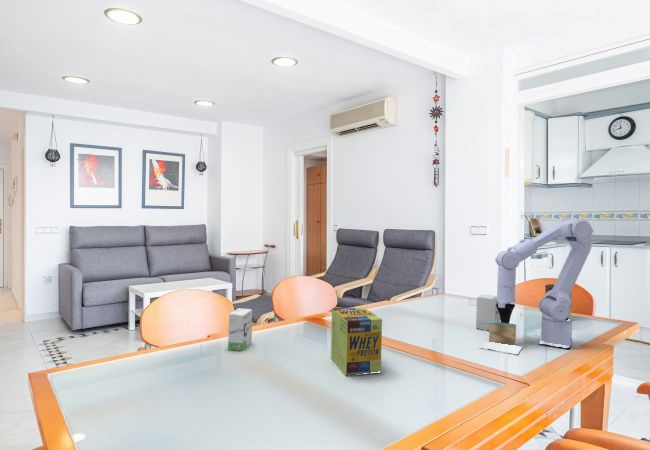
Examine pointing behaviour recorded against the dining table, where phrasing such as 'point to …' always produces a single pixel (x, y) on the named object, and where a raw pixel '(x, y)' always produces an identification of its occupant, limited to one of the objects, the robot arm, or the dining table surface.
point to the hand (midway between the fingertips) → (505, 324)
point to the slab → (502, 333)
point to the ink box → (240, 329)
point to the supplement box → (486, 311)
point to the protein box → (356, 340)
